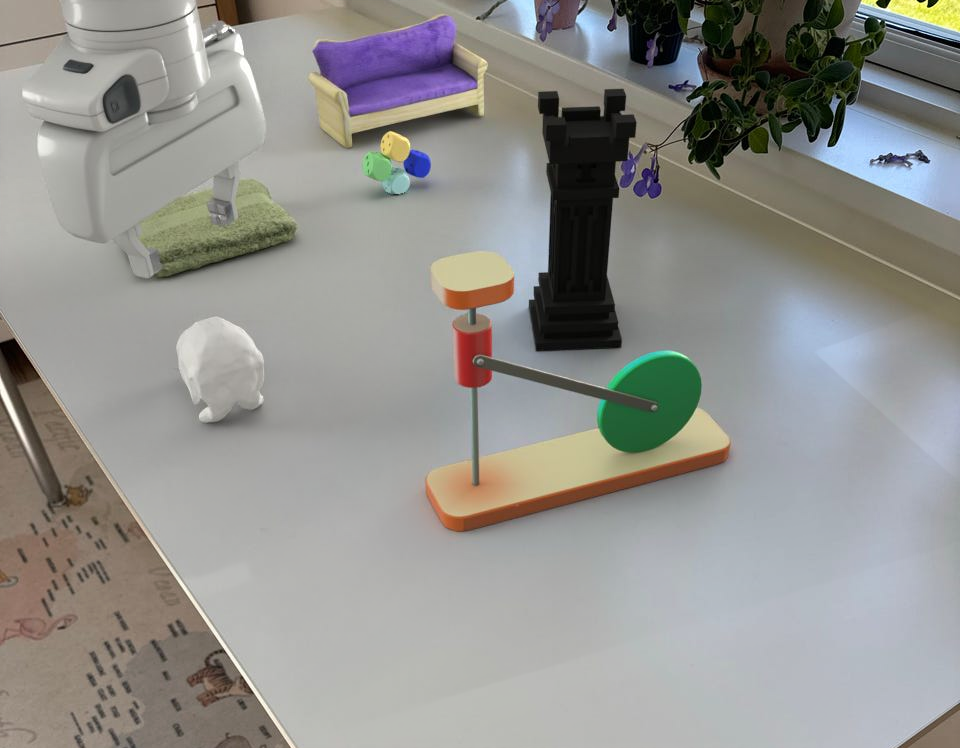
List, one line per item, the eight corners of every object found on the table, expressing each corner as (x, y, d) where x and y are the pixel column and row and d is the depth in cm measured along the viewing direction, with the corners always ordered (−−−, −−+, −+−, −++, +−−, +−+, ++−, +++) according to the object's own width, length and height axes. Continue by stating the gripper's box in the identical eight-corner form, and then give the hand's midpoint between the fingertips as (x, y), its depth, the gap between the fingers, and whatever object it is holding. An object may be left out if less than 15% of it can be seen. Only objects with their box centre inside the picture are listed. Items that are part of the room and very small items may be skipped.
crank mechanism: (448, 535, 79) (437, 304, 65) (421, 484, 84) (404, 257, 70) (735, 459, 85) (781, 232, 71) (695, 415, 89) (732, 193, 75)
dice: (423, 177, 123) (420, 120, 118) (434, 185, 121) (431, 128, 117) (362, 193, 120) (356, 136, 115) (372, 201, 119) (367, 144, 114)
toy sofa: (341, 151, 128) (331, 61, 121) (314, 128, 133) (302, 40, 126) (489, 117, 135) (488, 29, 127) (457, 95, 140) (455, 10, 133)
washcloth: (111, 234, 114) (103, 205, 112) (264, 198, 120) (259, 170, 117) (144, 286, 106) (136, 256, 104) (305, 245, 112) (301, 216, 109)
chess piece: (535, 351, 97) (541, 127, 82) (528, 307, 102) (533, 90, 88) (621, 347, 97) (642, 123, 82) (609, 303, 102) (627, 86, 88)
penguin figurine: (185, 347, 82) (140, 295, 90) (211, 441, 88) (167, 385, 95) (260, 324, 84) (209, 276, 92) (281, 417, 90) (231, 364, 98)
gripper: (201, 7, 80) (237, 187, 90) (1, 99, 68) (68, 295, 78) (267, 18, 77) (296, 201, 88) (73, 115, 65) (132, 315, 76)
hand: (188, 246), depth 83 cm, fingers open, 8 cm apart
